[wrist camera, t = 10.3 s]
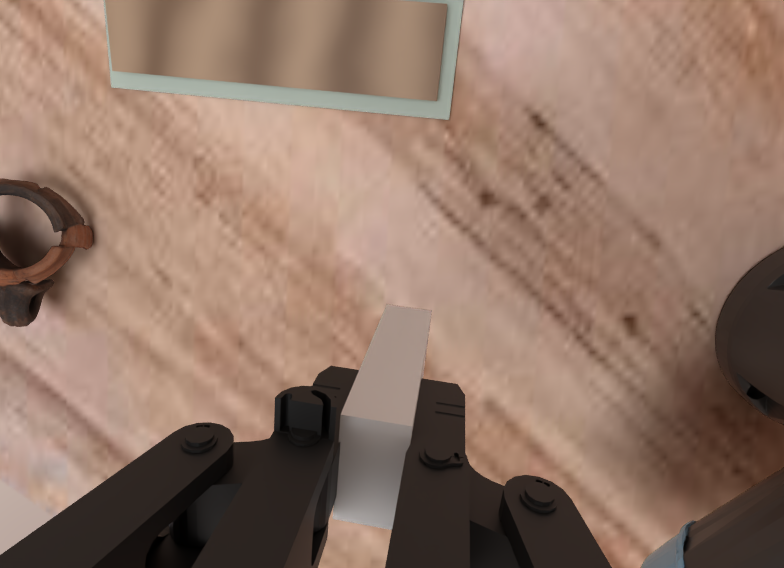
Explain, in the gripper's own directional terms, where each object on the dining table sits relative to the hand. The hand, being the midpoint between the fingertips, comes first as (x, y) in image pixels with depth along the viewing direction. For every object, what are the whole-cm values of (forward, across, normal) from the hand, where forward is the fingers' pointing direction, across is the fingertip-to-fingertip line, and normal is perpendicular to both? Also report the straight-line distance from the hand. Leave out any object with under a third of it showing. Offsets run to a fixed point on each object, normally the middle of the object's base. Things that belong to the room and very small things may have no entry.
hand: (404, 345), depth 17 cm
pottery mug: (+24, +34, +7) cm, 42 cm away
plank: (+23, +13, -11) cm, 29 cm away
